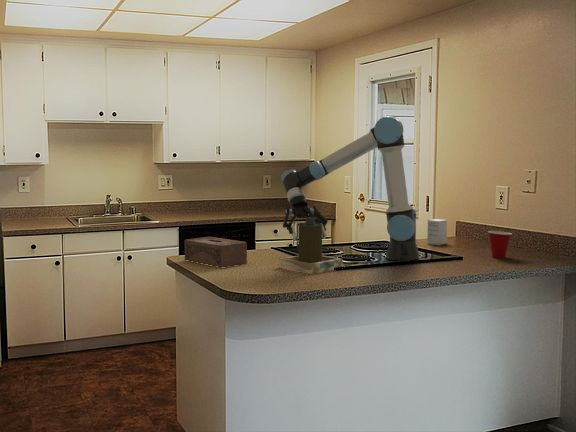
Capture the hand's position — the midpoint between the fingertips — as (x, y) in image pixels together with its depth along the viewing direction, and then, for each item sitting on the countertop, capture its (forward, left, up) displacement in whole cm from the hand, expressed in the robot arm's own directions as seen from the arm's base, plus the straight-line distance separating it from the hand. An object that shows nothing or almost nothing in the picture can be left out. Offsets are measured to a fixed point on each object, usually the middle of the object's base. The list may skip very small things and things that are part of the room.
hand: (310, 238), depth 297 cm
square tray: (0, 0, -13) cm, 13 cm away
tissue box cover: (+21, -39, -13) cm, 46 cm away
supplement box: (-96, -4, -13) cm, 97 cm away
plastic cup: (-83, +40, -13) cm, 93 cm away
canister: (0, 0, -11) cm, 11 cm away
